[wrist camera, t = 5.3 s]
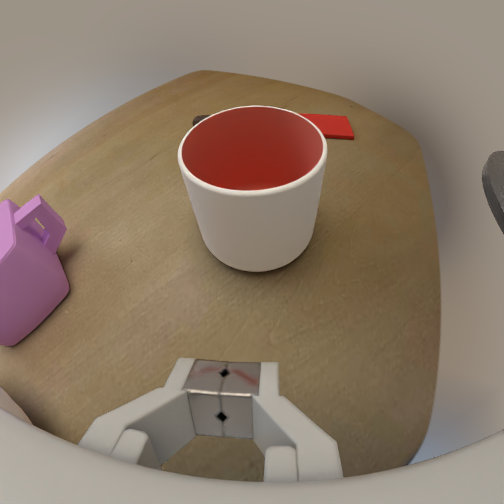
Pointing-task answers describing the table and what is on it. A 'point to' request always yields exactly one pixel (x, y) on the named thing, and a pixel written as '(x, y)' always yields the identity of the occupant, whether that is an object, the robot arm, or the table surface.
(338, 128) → the spatula
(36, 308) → the teapot
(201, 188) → the cup
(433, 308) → the table surface
